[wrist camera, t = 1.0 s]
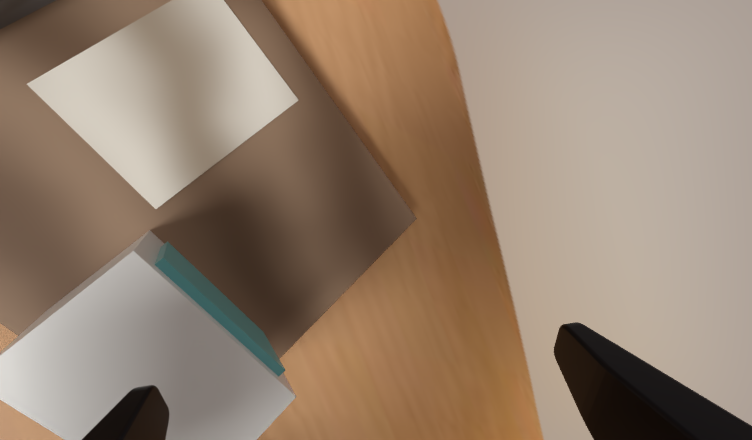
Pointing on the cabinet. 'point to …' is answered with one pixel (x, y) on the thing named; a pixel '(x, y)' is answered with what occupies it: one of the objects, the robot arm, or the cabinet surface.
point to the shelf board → (180, 158)
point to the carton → (146, 352)
